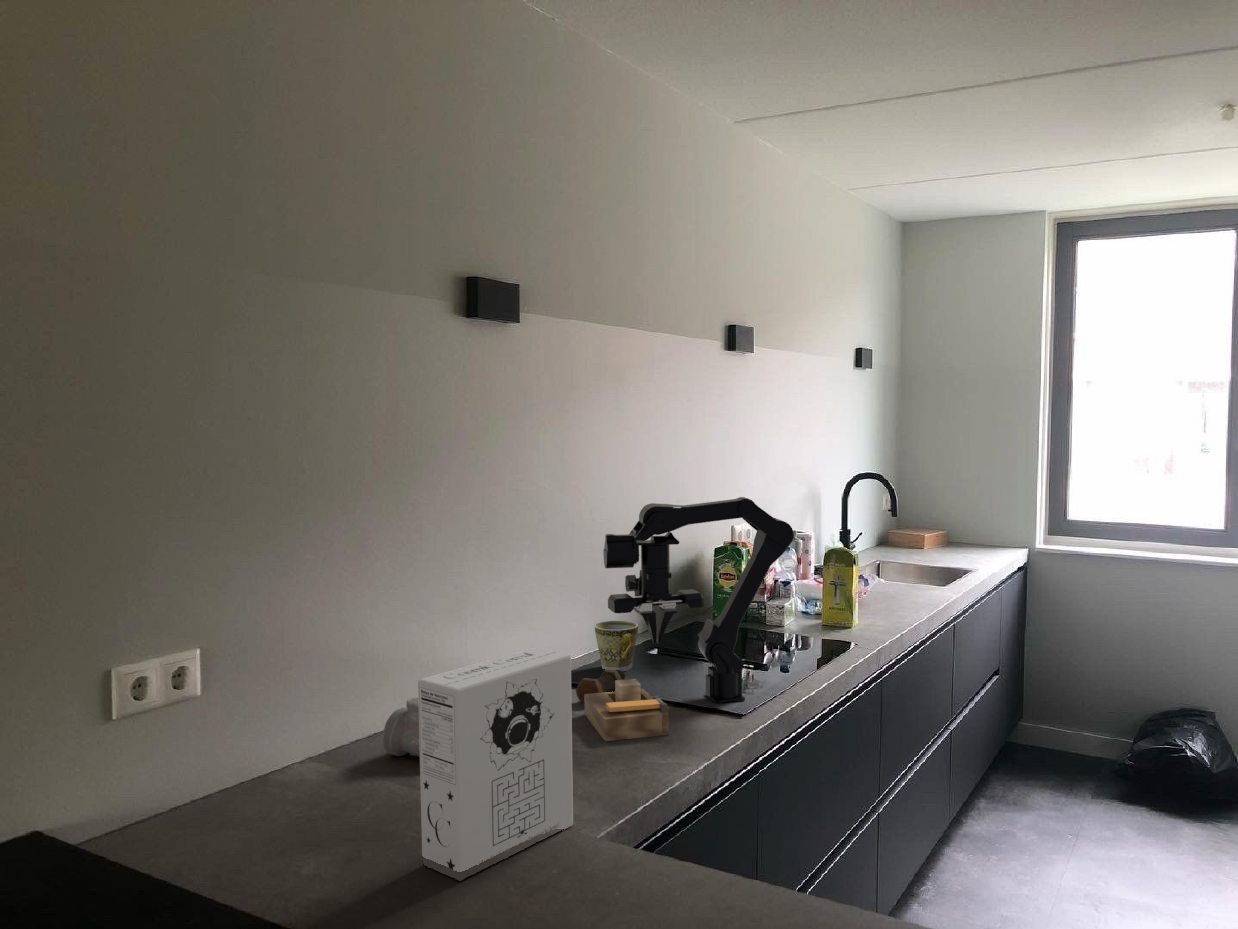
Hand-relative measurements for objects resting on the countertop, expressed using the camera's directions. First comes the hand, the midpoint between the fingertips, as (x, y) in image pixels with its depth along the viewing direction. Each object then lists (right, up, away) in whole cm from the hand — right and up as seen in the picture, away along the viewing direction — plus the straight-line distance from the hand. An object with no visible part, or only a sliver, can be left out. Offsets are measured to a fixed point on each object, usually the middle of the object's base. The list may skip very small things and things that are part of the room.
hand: (656, 643), depth 199 cm
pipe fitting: (-41, -15, -30) cm, 53 cm away
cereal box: (-24, -16, -63) cm, 70 cm away
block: (-6, -13, -13) cm, 20 cm away
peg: (-6, -13, -10) cm, 17 cm away
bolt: (-11, -12, +6) cm, 17 cm away
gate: (-4, -9, -18) cm, 20 cm away
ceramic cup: (-7, -11, +25) cm, 28 cm away
